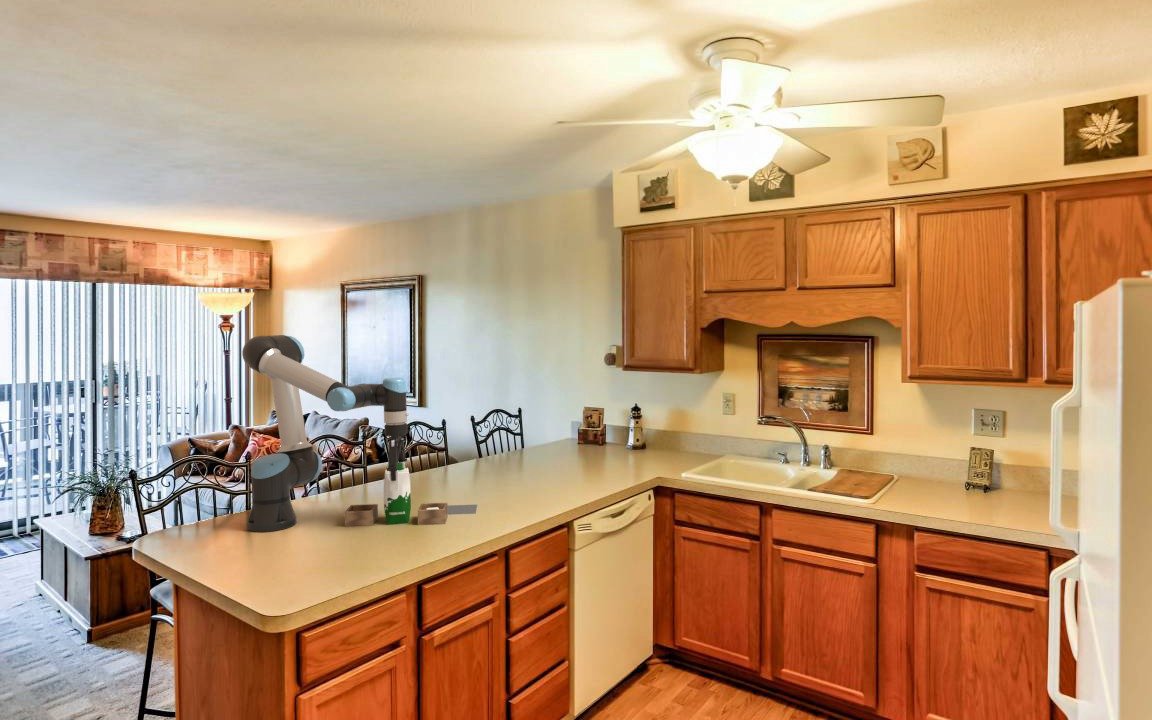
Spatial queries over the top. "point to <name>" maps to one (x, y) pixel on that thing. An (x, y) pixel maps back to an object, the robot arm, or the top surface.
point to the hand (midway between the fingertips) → (397, 485)
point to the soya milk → (397, 498)
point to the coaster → (462, 509)
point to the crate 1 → (361, 515)
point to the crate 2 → (432, 514)
